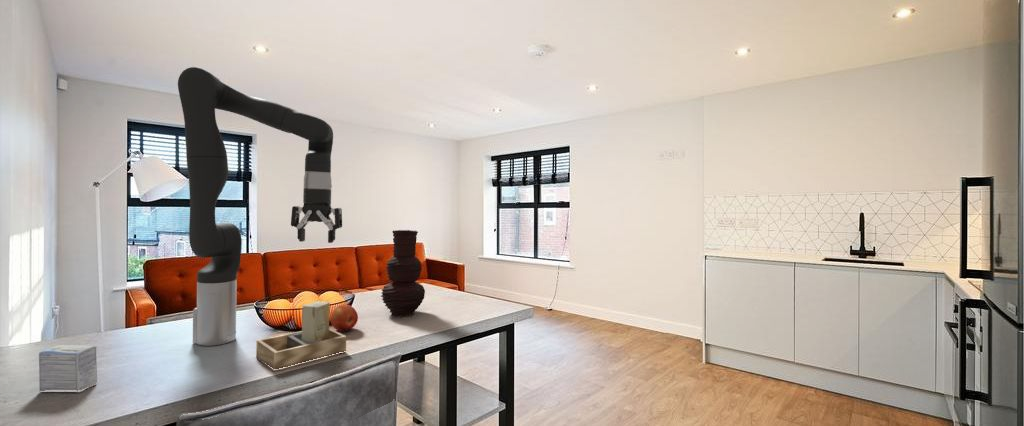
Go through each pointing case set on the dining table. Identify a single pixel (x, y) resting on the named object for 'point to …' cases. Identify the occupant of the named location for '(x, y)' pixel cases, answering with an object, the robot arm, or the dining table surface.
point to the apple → (344, 317)
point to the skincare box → (315, 322)
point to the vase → (403, 276)
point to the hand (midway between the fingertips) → (316, 241)
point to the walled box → (297, 349)
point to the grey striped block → (67, 367)
